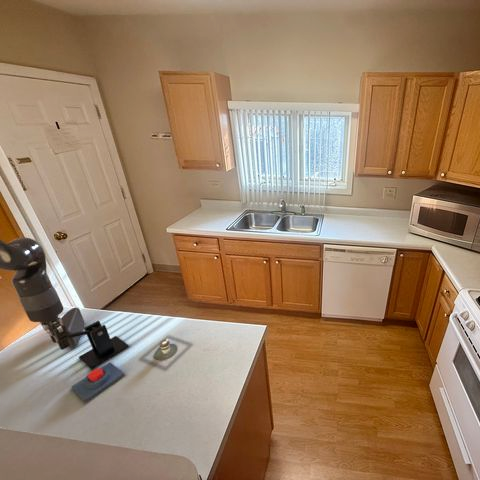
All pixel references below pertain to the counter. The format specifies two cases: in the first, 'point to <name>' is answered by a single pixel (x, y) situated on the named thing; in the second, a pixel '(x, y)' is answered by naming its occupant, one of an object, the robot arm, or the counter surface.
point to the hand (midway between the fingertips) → (61, 343)
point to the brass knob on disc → (165, 350)
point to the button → (96, 374)
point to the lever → (83, 332)
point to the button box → (97, 382)
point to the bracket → (101, 346)
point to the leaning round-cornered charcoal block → (73, 325)
